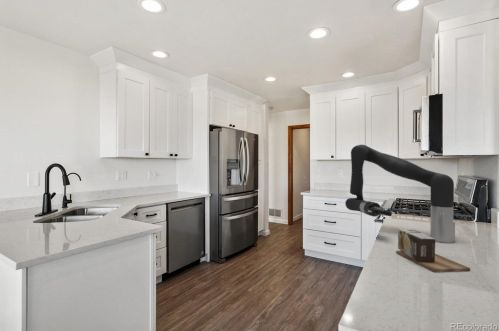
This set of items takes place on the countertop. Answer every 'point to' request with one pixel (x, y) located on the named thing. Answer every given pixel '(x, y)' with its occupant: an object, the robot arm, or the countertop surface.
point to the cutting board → (438, 264)
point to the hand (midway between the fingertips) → (390, 214)
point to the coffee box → (416, 245)
